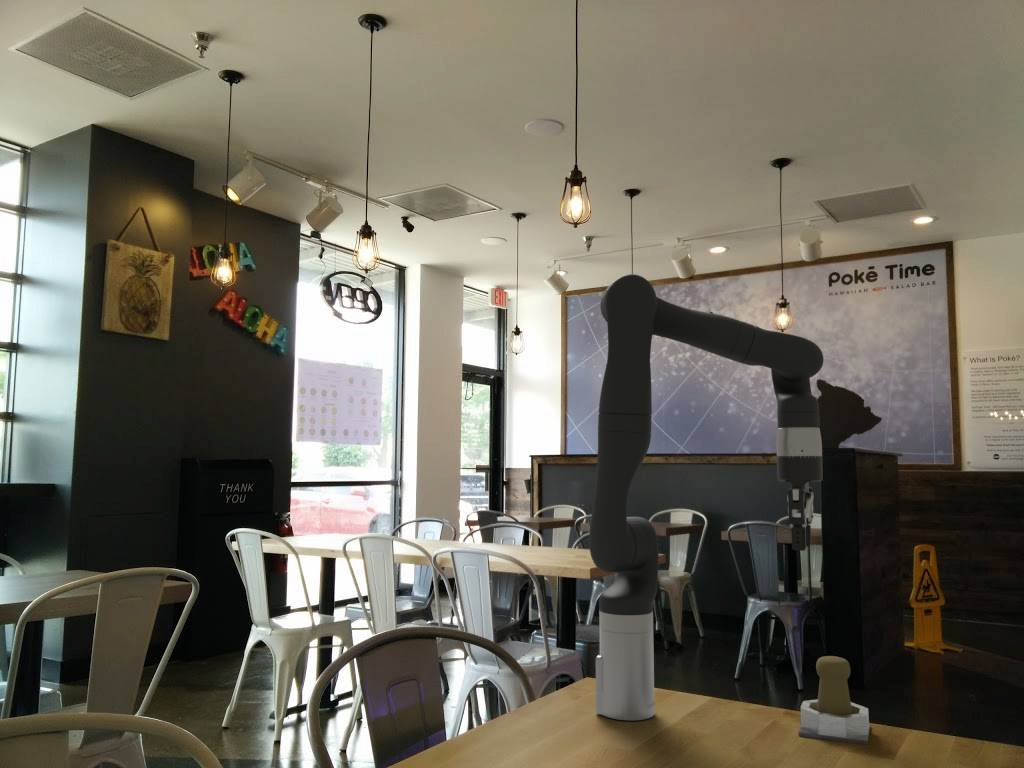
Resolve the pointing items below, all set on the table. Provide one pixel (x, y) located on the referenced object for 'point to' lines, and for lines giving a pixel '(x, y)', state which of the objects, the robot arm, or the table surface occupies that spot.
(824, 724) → the duct collar
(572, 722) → the table surface
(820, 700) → the cork
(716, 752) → the table surface
